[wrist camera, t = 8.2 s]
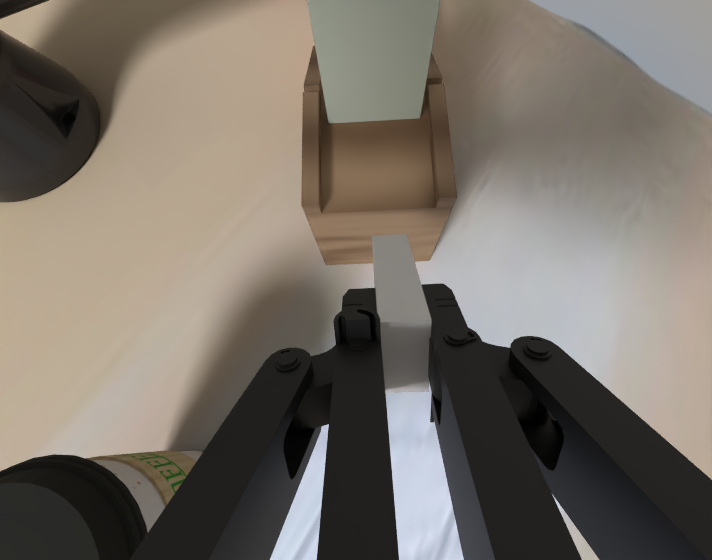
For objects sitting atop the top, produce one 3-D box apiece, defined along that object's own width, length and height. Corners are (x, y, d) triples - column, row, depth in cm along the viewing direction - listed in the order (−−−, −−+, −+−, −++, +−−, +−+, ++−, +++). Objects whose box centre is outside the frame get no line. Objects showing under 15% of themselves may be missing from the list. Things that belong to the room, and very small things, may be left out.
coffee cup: (225, 402, 30) (84, 418, 15) (272, 530, 27) (155, 695, 13) (108, 461, 29) (-157, 536, 14) (145, 598, 26) (-135, 857, 12)
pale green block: (420, 118, 24) (449, -58, 15) (328, 123, 24) (298, -47, 15) (417, 87, 25) (443, -101, 15) (328, 92, 25) (299, -89, 16)
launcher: (429, 260, 32) (456, 197, 21) (325, 265, 32) (301, 204, 22) (415, 103, 37) (432, -15, 26) (324, 108, 37) (304, -5, 26)
